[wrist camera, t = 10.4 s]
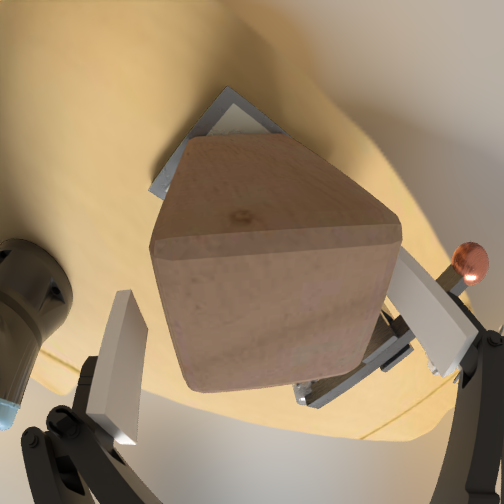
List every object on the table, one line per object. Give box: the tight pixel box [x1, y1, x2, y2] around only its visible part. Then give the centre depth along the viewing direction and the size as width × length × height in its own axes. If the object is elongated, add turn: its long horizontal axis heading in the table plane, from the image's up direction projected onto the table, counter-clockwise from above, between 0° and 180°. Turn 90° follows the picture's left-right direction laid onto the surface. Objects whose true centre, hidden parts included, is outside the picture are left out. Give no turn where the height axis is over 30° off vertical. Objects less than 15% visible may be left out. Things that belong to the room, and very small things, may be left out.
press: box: [148, 86, 414, 372], centre depth 24 cm, size 22×13×20 cm, turn 50°
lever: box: [292, 242, 489, 409], centre depth 21 cm, size 3×20×6 cm, turn 140°
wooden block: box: [149, 133, 402, 393], centre depth 20 cm, size 10×10×20 cm
